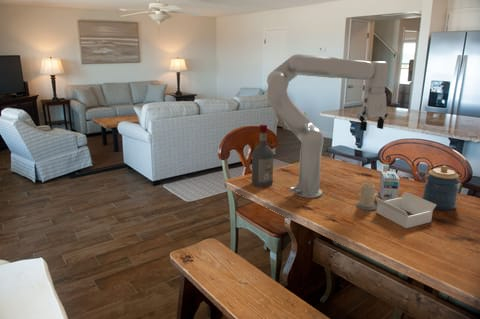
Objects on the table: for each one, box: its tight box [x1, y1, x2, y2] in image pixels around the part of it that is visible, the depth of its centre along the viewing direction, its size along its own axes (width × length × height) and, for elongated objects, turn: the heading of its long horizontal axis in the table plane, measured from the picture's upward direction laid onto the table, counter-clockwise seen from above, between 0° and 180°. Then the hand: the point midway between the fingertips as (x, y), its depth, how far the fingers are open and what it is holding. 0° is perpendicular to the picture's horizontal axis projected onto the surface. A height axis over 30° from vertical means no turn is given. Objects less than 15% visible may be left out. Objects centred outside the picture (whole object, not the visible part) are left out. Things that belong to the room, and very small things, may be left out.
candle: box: [359, 181, 376, 207], centre depth 154 cm, size 6×6×10 cm
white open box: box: [374, 190, 436, 229], centre depth 145 cm, size 16×15×7 cm
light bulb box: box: [378, 170, 401, 201], centre depth 165 cm, size 11×7×11 cm, turn 168°
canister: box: [421, 165, 461, 211], centre depth 155 cm, size 13×13×18 cm
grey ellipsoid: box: [356, 201, 377, 212], centre depth 156 cm, size 8×8×1 cm
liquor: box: [251, 124, 275, 188], centre depth 178 cm, size 9×9×30 cm
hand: (371, 129), depth 163 cm, fingers open, 9 cm apart
